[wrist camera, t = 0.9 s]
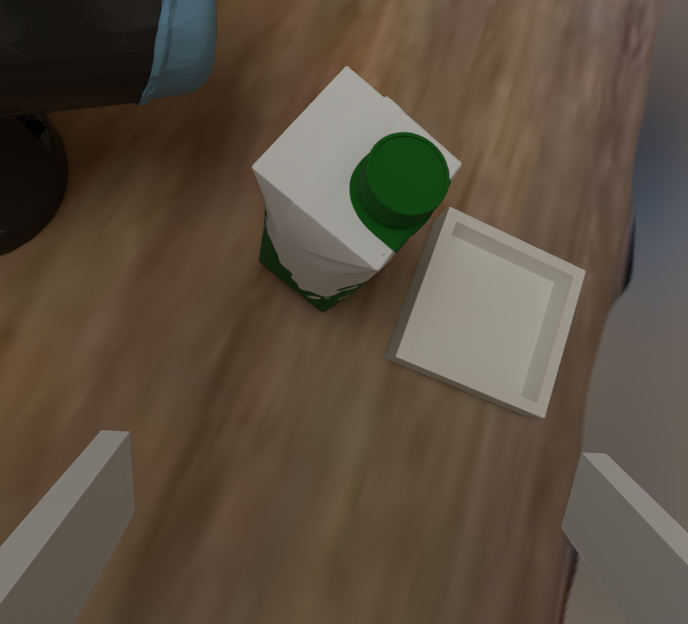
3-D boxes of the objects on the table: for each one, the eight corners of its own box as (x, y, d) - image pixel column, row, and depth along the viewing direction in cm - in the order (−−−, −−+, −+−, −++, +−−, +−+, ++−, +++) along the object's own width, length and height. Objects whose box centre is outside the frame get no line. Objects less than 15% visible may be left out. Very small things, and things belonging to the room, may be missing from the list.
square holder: (383, 358, 39) (395, 356, 36) (434, 220, 42) (449, 206, 38) (520, 414, 41) (544, 418, 37) (560, 278, 44) (585, 270, 40)
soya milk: (324, 327, 38) (392, 279, 19) (242, 261, 38) (226, 142, 18) (383, 253, 40) (499, 141, 21) (305, 189, 40) (352, 13, 20)
